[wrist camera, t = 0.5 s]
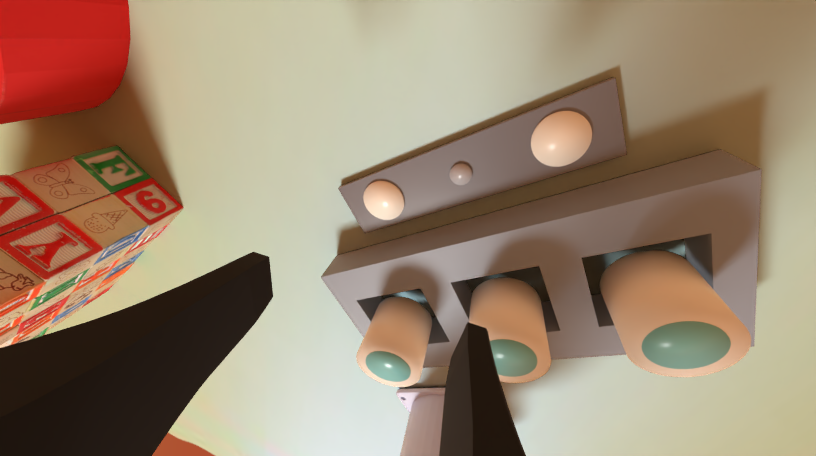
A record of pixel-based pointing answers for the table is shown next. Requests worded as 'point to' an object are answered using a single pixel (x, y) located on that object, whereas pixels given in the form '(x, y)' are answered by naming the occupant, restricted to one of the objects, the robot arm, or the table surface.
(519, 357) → the button
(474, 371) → the robot arm
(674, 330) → the button
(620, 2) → the table surface
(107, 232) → the stack of blocks
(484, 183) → the pattern tile
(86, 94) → the toy clock
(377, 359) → the button
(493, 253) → the button board
